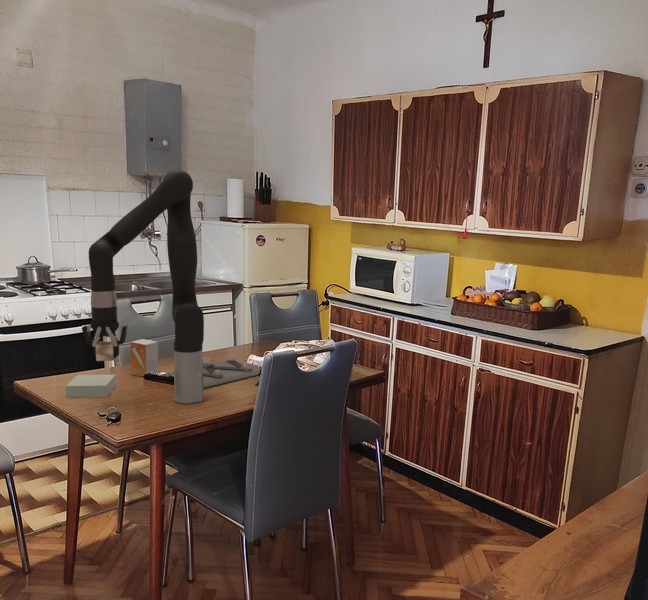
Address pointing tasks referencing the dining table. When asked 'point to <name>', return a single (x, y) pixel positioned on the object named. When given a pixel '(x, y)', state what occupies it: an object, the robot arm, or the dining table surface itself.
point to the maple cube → (104, 351)
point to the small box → (144, 357)
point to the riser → (91, 386)
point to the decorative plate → (225, 371)
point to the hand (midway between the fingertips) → (106, 357)
